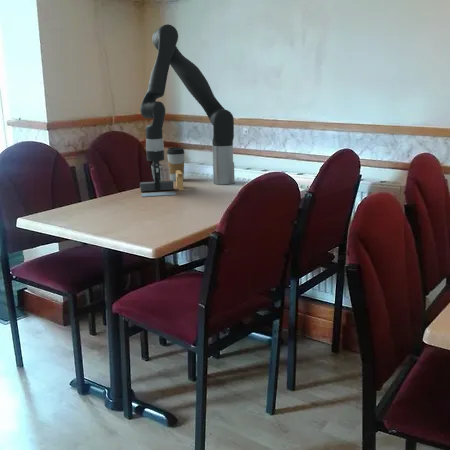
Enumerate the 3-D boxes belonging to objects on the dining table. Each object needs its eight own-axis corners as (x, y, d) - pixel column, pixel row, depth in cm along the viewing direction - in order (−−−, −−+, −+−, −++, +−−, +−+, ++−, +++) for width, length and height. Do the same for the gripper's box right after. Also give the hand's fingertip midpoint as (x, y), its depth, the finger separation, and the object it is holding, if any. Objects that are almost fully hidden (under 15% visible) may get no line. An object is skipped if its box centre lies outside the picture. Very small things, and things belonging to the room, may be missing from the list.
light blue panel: (174, 192, 243) (174, 191, 243) (175, 195, 238) (175, 194, 237) (141, 194, 241) (141, 193, 241) (141, 197, 235) (141, 196, 235)
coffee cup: (166, 179, 275) (164, 148, 271) (183, 178, 277) (182, 147, 273) (170, 182, 267) (168, 150, 263) (187, 180, 269) (186, 149, 266)
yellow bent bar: (180, 185, 256) (180, 170, 255) (183, 190, 247) (182, 174, 245) (176, 186, 256) (175, 170, 254) (178, 190, 246) (177, 174, 245)
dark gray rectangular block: (172, 187, 251) (172, 180, 250) (173, 189, 247) (173, 182, 247) (140, 189, 249) (140, 182, 248) (141, 191, 245) (140, 184, 244)
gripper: (145, 147, 250) (147, 186, 254) (147, 151, 236) (149, 192, 241) (162, 146, 251) (164, 185, 255) (165, 150, 237) (167, 191, 242)
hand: (157, 188), depth 248 cm, fingers closed on dark gray rectangular block, 3 cm apart
